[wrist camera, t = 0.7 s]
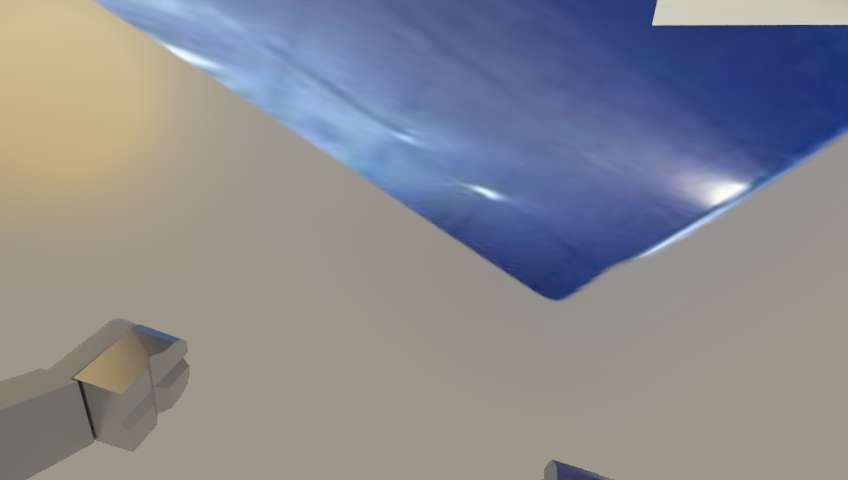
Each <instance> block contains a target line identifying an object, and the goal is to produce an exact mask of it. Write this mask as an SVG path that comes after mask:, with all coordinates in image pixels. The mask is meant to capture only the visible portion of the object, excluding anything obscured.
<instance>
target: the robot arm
mask: <svg viewBox="0 0 848 480" xmlns="http://www.w3.org/2000/svg"><path fill="white" fill-rule="evenodd" d="M187 352H188V350H187V343H186V341H185V340H182V339H179V338H177V337H174V336H171V335H168V334H165V333H162V332H160V331H157V330H154V329H151V328H148V327H145V326H143V325H140V324H137V323H134V322H131V321H128V320H125V319H122V318H117V319H114V320H112V321H110V322H108V323H107V324H106V325H104V326H103V327H102V328H101V329H99V330H98V331H97V332H96V333H94V334H93V335H92V336H90V337H89V338H88V339H87V340H85V341H84V342H83V343H82V344H80V345H79V346H78V347H77V348H75V349H74V350H73V351H72V352H70V353H69V354H68V355H66V356H65V357H64V358H62V359H61V360H60V361H59V362H57V363H56V364H55V365H54V366H52V367H51V368H50V369H48V370H44V369H37V370H34V371H31V372H28V373H25V374H22V375H19V376H16V377H13V378H10V379H7V380H4V381H1V382H0V480H26V479H28V478H30V477H32V476H34V475H35V474H37V473H39V472H41V471H43V470H45V469H47V468H48V467H50V466H52V465H54V464H56V463H58V462H59V461H61V460H63V459H65V458H67V457H69V456H70V455H72V454H74V453H76V452H78V451H80V450H81V449H83V448H85V447H87V446H89V445H91V444H92V443H94V440H97V441H100V442H103V443H106V444H109V445H113V446H116V447H119V448H122V449H126V450H129V451H132V452H134V451H135V450H136V448H137V447H138V446H139V445H140V444H141V443H142V441H143V440H144V439H145V438H146V437H147V435H148V434H149V433H150V432H151V431H152V430H153V429H154V427H155V426H156V425H157V414H158V413H160V412H163V411H165V410H167V409H169V408H172V406H173V405H174V404H175V403H176V401H177V400H178V399H179V398H180V397H181V395H182V393H183V391H184V389H185V387H186V385H187V383H188V378H189V365H188V364H187V363H186V361H185V360H184V359H183V356H184V355H185V354H186V353H187ZM542 480H613V479H610V478H607V477H604V476H600V475H599V474H597V473H593V472H590V471H587V470H584V469H581V468H577V467H574V466H571V465H568V464H564V463H561V462H557V461H554V460H552V461H550V462H549V463H548V464H547V466H546V467H545V469H544V479H542Z"/></svg>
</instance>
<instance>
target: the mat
mask: <svg viewBox="0 0 848 480" xmlns="http://www.w3.org/2000/svg"><path fill="white" fill-rule="evenodd" d="M652 25H848V0H658V1H657V5H656V9H655V14H654V18H653V23H652Z"/></svg>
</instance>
